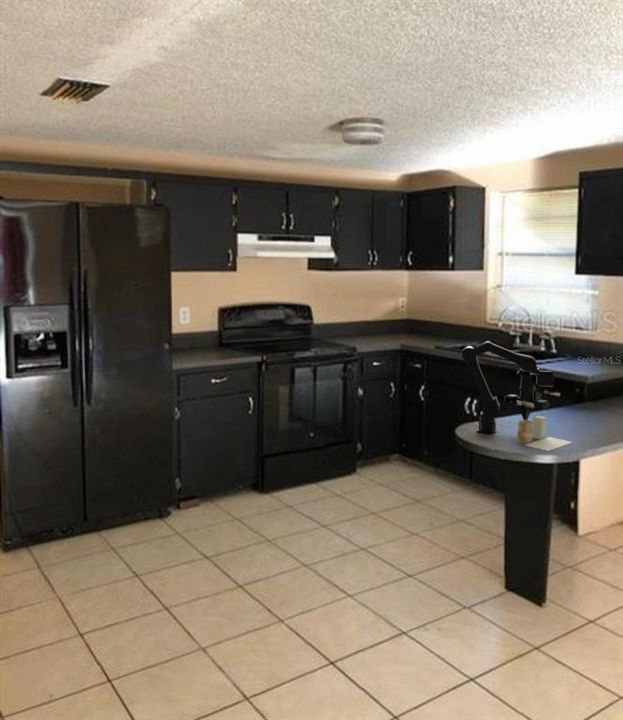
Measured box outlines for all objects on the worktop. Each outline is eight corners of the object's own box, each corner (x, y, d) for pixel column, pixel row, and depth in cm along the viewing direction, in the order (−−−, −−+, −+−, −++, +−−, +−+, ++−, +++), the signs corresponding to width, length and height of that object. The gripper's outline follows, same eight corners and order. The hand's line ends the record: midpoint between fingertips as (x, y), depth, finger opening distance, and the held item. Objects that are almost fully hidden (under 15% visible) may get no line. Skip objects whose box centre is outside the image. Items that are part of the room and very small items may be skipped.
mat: (524, 445, 282) (524, 444, 282) (549, 437, 294) (549, 436, 294) (548, 451, 274) (548, 450, 274) (572, 442, 286) (572, 442, 286)
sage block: (531, 437, 294) (533, 417, 292) (537, 436, 296) (538, 415, 295) (540, 439, 291) (541, 418, 289) (545, 438, 293) (546, 417, 292)
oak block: (517, 442, 287) (518, 421, 285) (522, 440, 289) (523, 419, 288) (525, 444, 284) (527, 423, 282) (531, 442, 286) (532, 421, 285)
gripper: (557, 386, 293) (555, 422, 296) (518, 380, 307) (517, 414, 310) (543, 389, 286) (541, 426, 289) (504, 383, 300) (502, 418, 303)
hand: (525, 421), depth 298 cm, fingers closed
